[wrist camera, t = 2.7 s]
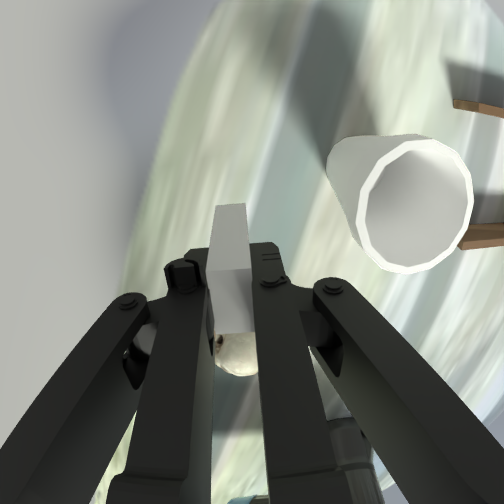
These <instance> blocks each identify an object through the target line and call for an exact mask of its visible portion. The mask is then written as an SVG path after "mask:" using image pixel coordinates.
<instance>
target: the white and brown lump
mask: <svg viewBox="0 0 504 504" xmlns="http://www.w3.org/2000/svg"><path fill="white" fill-rule="evenodd" d="M214 337H215V343H216V347H215V363H216V365H217V366H219V367H220V368H222V369H223V370H224V371H225V372H227V373H231V374H234V375H236V376H249V375H254V374H256V373H257V372H258V364H257V353H256V340H255V332H246V333H231V334H216V333H215V328H214Z"/></svg>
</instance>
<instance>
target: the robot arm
mask: <svg viewBox="0 0 504 504" xmlns="http://www.w3.org/2000/svg"><path fill="white" fill-rule="evenodd" d="M164 272H165V276H166V281H167V285H168V292H167V296H165V297H163V298H160V299H157V300H153V301H149V302H147V299H146V297H145V296H144V295H143V294H141V293H126V294H123V295H121V296H119V297H117V298H116V299H115V300H114V301H113V302H112V303H111V304H110V305H109V306H108V307H107V309H106V310H105V311H104V312H103V313H102V315H101V316H100V317H99V318H98V319H97V321H96V322H95V323H94V324H93V325H92V327H91V328H90V329H89V330H88V332H87V333H86V334H85V335H84V336H83V338H82V339H81V340H80V341H79V343H78V344H77V345H76V346H75V348H74V349H73V350H72V351H71V353H70V354H69V355H68V357H67V358H66V359H65V360H64V362H63V363H62V364H61V365H60V367H59V368H58V369H57V371H56V372H55V373H54V375H53V376H52V377H51V379H50V380H49V381H48V383H47V384H46V385H45V387H44V388H43V389H42V391H41V392H40V393H39V395H38V396H37V397H36V399H35V400H34V401H33V403H32V404H31V406H30V407H29V408H28V410H27V411H26V413H25V414H24V415H23V417H22V418H21V420H20V421H19V422H18V424H17V425H16V427H15V428H14V430H13V431H12V433H11V434H10V435H9V437H8V438H7V440H6V441H5V443H4V444H3V446H2V448H1V449H0V504H89V503H90V501H91V498H92V497H93V495H94V493H95V491H96V489H97V487H98V485H99V483H100V481H101V479H102V477H103V475H104V473H105V471H106V469H107V467H108V465H109V463H110V461H111V459H112V457H113V455H114V453H115V451H116V449H117V447H118V445H119V443H120V441H121V439H122V437H123V435H124V433H125V432H126V430H127V428H128V426H129V424H130V422H131V420H132V418H133V416H134V414H135V412H136V410H137V413H136V417H135V422H134V426H133V431H132V436H131V441H130V446H129V451H128V456H127V461H126V466H125V469H124V471H123V472H122V473H121V474H118V475H115V476H114V477H113V479H112V480H111V482H110V486H109V489H108V494H107V499H106V504H211V454H212V419H213V391H214V368H215V347H216V343H215V337H214V328H215V333H216V334H231V333H246V332H255V340H256V353H257V364H258V377H259V389H260V401H261V413H262V425H263V437H264V449H265V460H266V472H267V484H268V495H253V496H249V497H238V498H233V499H231V500H230V501H229V502H228V503H227V504H385V502H384V498H383V495H382V491H381V488H380V485H379V481H378V478H377V475H376V472H375V469H374V465H373V451H374V450H375V452H376V453H377V455H378V456H379V458H380V459H381V461H382V462H383V464H384V465H385V467H386V469H387V470H388V472H389V473H390V475H391V476H392V478H393V479H394V481H395V482H396V484H397V486H398V487H399V489H400V490H401V491H402V493H403V495H404V496H405V498H406V499H407V501H408V503H409V504H504V448H503V447H502V446H501V445H500V444H499V443H498V441H497V440H496V439H495V438H494V437H493V435H492V434H491V433H490V432H489V431H488V430H487V428H486V427H485V426H484V425H483V424H482V423H481V422H480V420H479V419H478V418H477V417H476V416H475V415H474V414H473V412H472V411H471V410H470V409H469V408H468V407H467V406H466V405H465V403H464V402H463V401H462V400H461V399H460V398H459V397H458V396H457V394H456V393H455V392H454V391H453V390H452V389H451V388H450V387H449V386H448V385H447V383H446V382H445V381H444V380H443V379H442V378H441V377H440V376H439V375H438V374H437V373H436V371H435V370H434V369H433V368H432V367H431V366H430V365H429V364H428V363H427V362H426V361H425V360H424V359H423V358H422V356H421V355H420V354H419V353H418V352H417V351H416V350H415V349H414V348H413V347H412V346H411V345H410V344H409V343H408V342H407V341H406V340H405V339H404V338H403V337H402V335H401V334H400V333H399V332H398V331H397V330H396V329H395V328H394V327H393V326H392V325H391V324H390V323H389V322H388V321H387V320H386V319H385V318H384V317H383V316H382V315H381V314H380V313H379V312H378V311H377V310H376V309H375V308H374V307H373V306H372V305H371V304H370V303H369V302H368V301H367V300H366V299H365V298H364V297H363V296H362V295H361V294H360V293H359V292H358V291H357V290H356V289H355V288H354V287H353V286H352V285H351V284H350V283H349V282H347V281H346V280H343V279H340V278H336V277H335V278H334V277H329V278H323V279H320V280H318V281H317V282H316V283H315V284H314V287H313V289H312V288H303V287H299V286H296V285H294V284H292V283H291V281H290V279H289V277H288V276H286V275H285V271H284V267H283V263H282V260H281V256H280V252H279V248H278V246H276V245H275V244H274V243H273V242H265V243H251V244H249V237H248V226H247V215H246V205H245V203H242V204H229V205H217V206H216V208H215V214H214V220H213V226H212V233H211V239H210V245H209V248H197V249H190V250H189V251H188V252H187V253H186V254H185V255H184V258H181V259H177V260H174V261H171V262H170V263H168V264H167V265H166V266H165V268H164ZM308 346H310V349H311V352H312V353H313V355H314V357H315V358H316V360H317V361H318V363H319V364H320V366H321V368H322V369H323V371H324V372H325V374H326V375H327V377H328V378H329V380H330V382H331V383H332V385H333V386H334V388H335V389H336V391H337V392H338V394H339V396H340V397H341V399H342V400H343V402H344V403H345V405H346V406H347V408H348V410H349V411H350V413H351V414H352V416H353V417H354V418H343V419H337V420H332V421H328V422H327V420H326V416H325V412H324V408H323V404H322V400H321V396H320V392H319V388H318V384H317V380H316V376H315V372H314V368H313V364H312V360H311V356H310V352H309V348H308ZM125 351H126V352H125ZM124 353H125V354H124Z"/></svg>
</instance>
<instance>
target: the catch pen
mask: <svg viewBox="0 0 504 504" xmlns="http://www.w3.org/2000/svg"><path fill="white" fill-rule="evenodd" d="M454 108H456V109H462V110H467V111H472V112H477V113H482V114H487V115H492V116H496V117H500V118H504V109H503V108H499V107H495V106H491V105H487V104H482V103H477V102H470V101H463V100H455V99H454ZM497 246H504V223H490V224H470V225H468V229H467V230H466V232H465V234H464V235H463V237H462V238H461V240H460V241H459V243H458V244H457V247H459V248H460V249H461V250H469V249H478V248H488V247H497Z"/></svg>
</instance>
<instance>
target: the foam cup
mask: <svg viewBox="0 0 504 504" xmlns="http://www.w3.org/2000/svg"><path fill="white" fill-rule="evenodd" d="M326 173H327V176H328V179H329V181H330V184H331V186H332V188H333V190H334V192H335V195H336V197H337V199H338V201H339V203H340V205H341V207H342V209H343V211H344V213H345V215H346V218H347V221H348V224H349V227H350V230H351V233H352V237H353V238H354V239H355V240H356V242H357V243H358V244H359V246H360V247H361V248H362V250H363V251H364V252H365V253H366V254H367V255H368V256H369V257H370V258H371V259H372V260H373V261H374V262H375V263H376V264H377V265H378V266H379V267H380V268H381V269H383V270H387V271H392V272H396V273H400V274H404V275H408V274H412V273H416V272H420V271H424V270H427V269H431V268H432V267H434V266H435V265H436V264H438V263H439V262H440V261H442V260H443V259H444V258H446V257H447V256H448V255H449V254H451V253H452V252H453V250H454V249H455V247H456V246H457V244H458V243H459V241H460V240H461V238H462V237H463V235H464V234H465V232H466V230H467V229H468V225H469V221H470V217H471V213H472V209H473V204H474V196H473V187H472V180H471V174H470V172H469V170H468V169H467V167H466V165H465V164H464V162H463V161H462V159H461V158H460V156H459V154H458V153H457V151H455V150H453V149H451V148H449V147H448V146H446V145H444V144H442V143H440V142H438V141H436V140H434V139H432V138H428V137H425V136H421V135H418V134H406V135H395V136H353V137H346V138H344V139H343V140H341V141H340V142H338V143H337V144H335V145H334V146H333V148H332V150H331V152H330V153H329V155H328V157H327V164H326Z"/></svg>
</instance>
